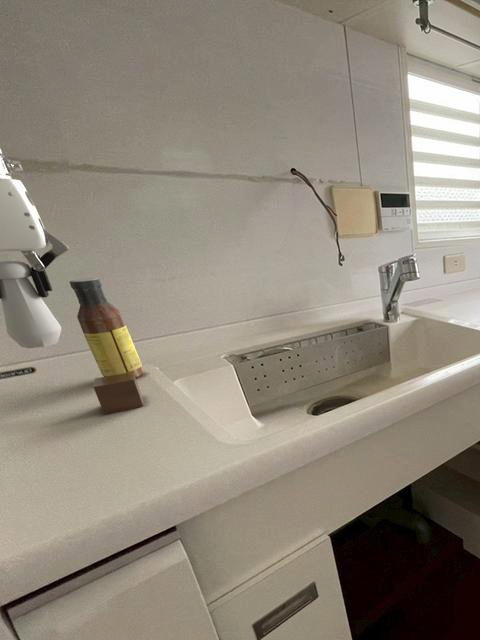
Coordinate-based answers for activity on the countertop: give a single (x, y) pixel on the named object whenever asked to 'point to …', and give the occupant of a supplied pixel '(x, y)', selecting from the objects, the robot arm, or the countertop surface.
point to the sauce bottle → (105, 330)
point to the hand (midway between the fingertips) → (20, 296)
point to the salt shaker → (25, 308)
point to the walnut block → (118, 392)
